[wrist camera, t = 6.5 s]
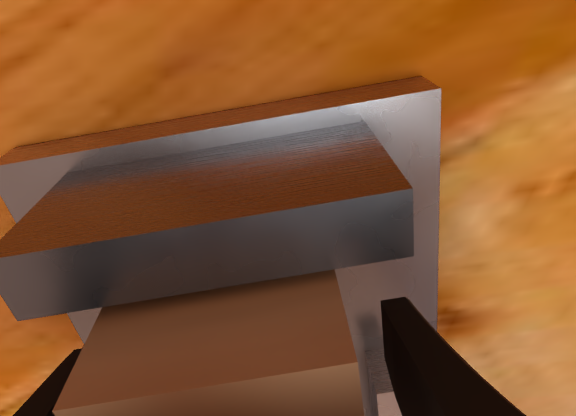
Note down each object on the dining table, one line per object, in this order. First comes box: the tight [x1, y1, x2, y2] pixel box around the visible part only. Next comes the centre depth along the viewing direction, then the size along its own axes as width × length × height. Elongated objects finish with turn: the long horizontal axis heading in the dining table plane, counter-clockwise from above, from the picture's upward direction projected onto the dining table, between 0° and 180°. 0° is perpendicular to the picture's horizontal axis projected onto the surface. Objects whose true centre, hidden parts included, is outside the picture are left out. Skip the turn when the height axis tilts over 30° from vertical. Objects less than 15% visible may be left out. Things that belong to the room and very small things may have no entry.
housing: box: [52, 269, 364, 416], centre depth 10 cm, size 5×5×7 cm
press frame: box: [0, 76, 441, 416], centre depth 14 cm, size 19×12×6 cm, turn 9°
